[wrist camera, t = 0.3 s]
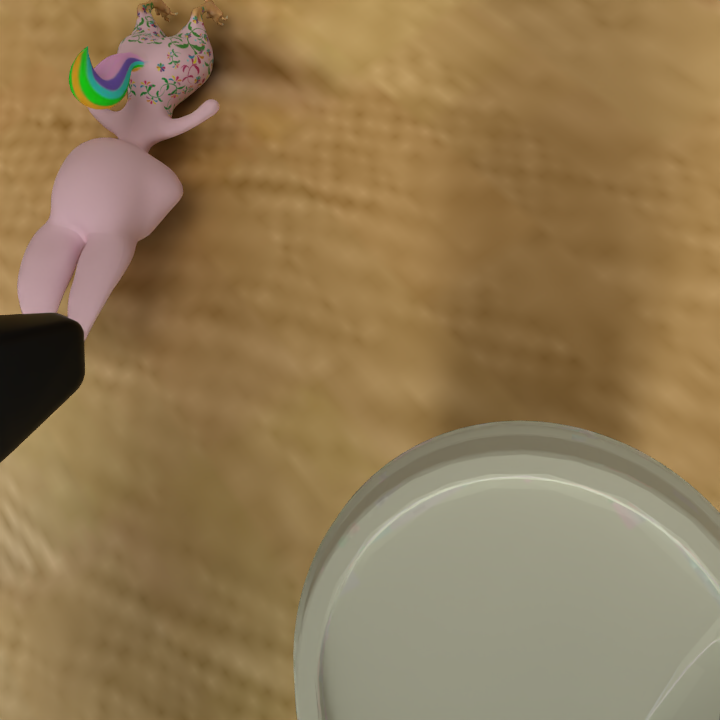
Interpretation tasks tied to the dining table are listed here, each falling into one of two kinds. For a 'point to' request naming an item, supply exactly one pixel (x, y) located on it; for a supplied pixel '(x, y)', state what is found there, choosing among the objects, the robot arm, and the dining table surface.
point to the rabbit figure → (117, 164)
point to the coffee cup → (514, 586)
